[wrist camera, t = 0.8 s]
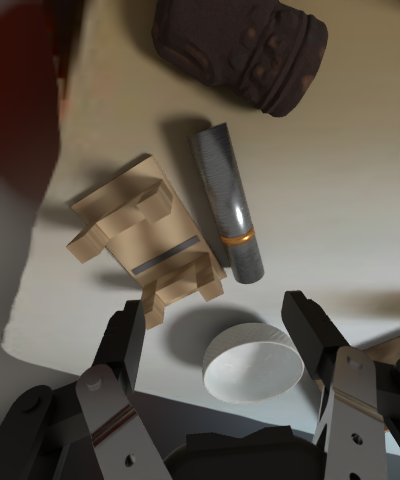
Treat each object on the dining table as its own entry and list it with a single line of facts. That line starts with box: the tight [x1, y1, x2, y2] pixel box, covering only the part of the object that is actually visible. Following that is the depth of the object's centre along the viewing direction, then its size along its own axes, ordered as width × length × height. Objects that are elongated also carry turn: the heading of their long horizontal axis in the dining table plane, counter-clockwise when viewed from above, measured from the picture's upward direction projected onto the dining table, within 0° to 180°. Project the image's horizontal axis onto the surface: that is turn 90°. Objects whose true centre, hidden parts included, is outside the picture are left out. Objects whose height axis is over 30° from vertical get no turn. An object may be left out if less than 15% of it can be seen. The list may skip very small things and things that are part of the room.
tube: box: [187, 122, 264, 284], centre depth 28 cm, size 20×4×4 cm, turn 19°
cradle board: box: [66, 155, 227, 330], centre depth 28 cm, size 12×20×8 cm, turn 29°
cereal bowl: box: [202, 323, 304, 404], centre depth 39 cm, size 17×17×7 cm
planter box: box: [314, 337, 400, 433], centre depth 49 cm, size 26×26×5 cm
